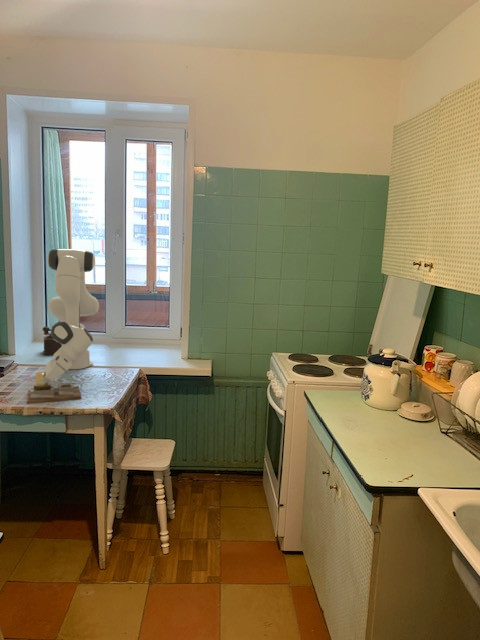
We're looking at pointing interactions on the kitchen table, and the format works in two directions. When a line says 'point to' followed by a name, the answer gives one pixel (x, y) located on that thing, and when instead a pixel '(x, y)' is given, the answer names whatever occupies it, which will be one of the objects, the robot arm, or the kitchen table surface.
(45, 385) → the gold metal cylinder
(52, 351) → the manual coffee grinder
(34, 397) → the socket board
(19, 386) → the kitchen table surface
